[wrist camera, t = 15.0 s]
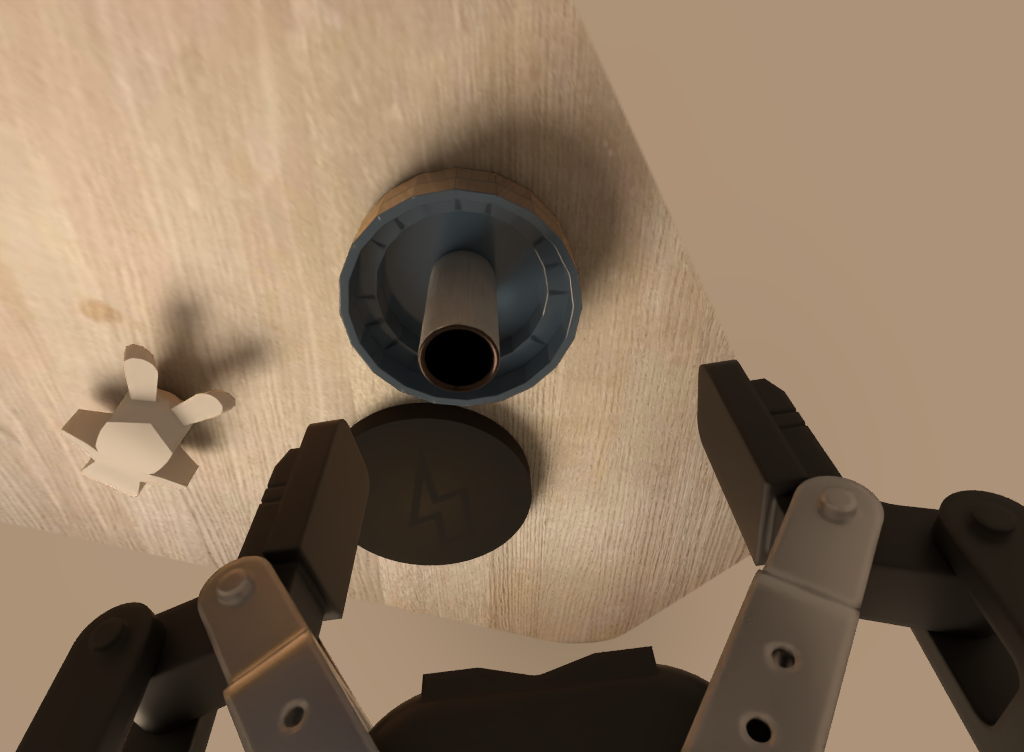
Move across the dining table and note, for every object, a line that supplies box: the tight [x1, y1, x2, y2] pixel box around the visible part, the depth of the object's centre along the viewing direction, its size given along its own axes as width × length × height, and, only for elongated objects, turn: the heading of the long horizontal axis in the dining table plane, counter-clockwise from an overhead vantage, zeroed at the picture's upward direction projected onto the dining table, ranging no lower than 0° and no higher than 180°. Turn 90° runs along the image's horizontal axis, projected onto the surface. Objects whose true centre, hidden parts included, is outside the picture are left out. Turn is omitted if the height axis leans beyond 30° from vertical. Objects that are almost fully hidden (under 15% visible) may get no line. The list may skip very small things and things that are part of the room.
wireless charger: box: [350, 403, 532, 565], centre depth 52 cm, size 18×18×2 cm
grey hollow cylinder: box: [418, 250, 500, 393], centre depth 37 cm, size 4×4×10 cm
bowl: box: [339, 168, 582, 406], centre depth 39 cm, size 15×15×5 cm
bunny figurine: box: [61, 344, 235, 497], centre depth 45 cm, size 10×5×15 cm
